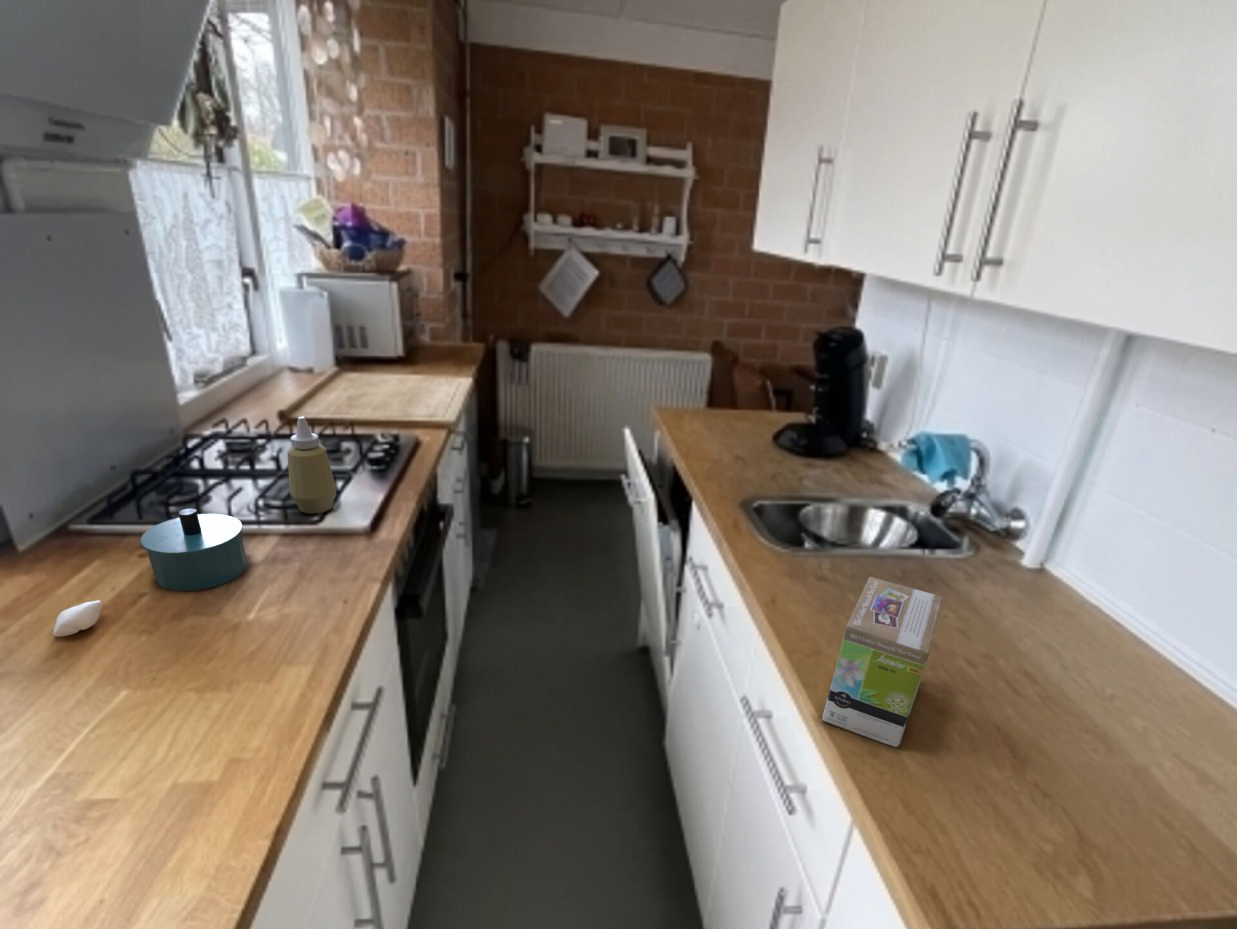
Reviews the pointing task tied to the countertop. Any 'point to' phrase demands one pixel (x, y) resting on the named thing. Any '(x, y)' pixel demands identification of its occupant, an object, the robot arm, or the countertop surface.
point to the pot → (200, 567)
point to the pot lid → (191, 533)
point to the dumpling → (77, 618)
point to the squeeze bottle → (310, 472)
